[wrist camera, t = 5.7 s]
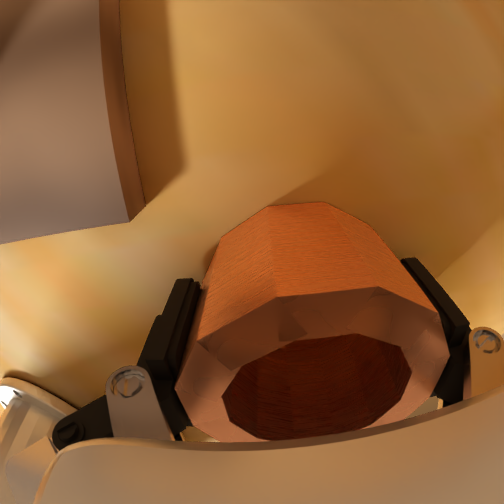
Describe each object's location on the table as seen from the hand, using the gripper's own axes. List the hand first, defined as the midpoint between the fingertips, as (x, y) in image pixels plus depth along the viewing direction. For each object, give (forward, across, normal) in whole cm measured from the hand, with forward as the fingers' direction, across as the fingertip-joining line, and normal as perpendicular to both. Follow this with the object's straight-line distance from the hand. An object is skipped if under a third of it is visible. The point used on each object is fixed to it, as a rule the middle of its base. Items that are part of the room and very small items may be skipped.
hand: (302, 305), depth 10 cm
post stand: (+1, +12, -11) cm, 16 cm away
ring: (+1, 0, 0) cm, 1 cm away
